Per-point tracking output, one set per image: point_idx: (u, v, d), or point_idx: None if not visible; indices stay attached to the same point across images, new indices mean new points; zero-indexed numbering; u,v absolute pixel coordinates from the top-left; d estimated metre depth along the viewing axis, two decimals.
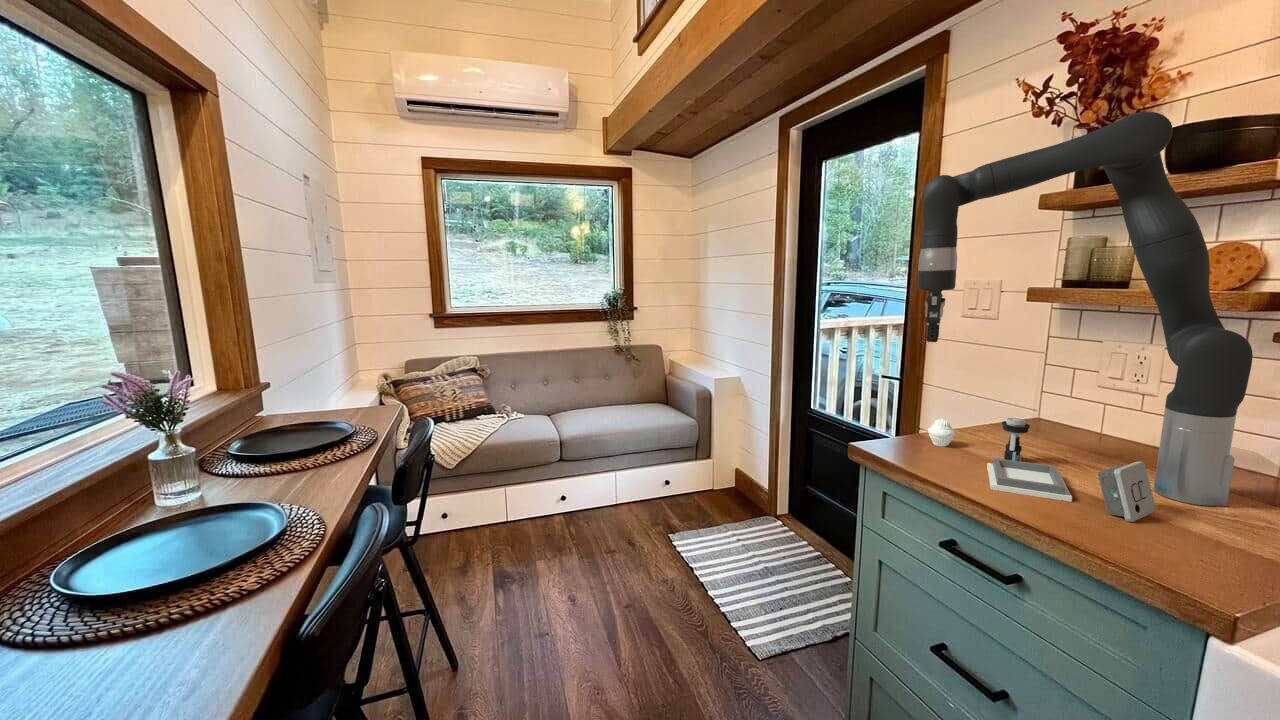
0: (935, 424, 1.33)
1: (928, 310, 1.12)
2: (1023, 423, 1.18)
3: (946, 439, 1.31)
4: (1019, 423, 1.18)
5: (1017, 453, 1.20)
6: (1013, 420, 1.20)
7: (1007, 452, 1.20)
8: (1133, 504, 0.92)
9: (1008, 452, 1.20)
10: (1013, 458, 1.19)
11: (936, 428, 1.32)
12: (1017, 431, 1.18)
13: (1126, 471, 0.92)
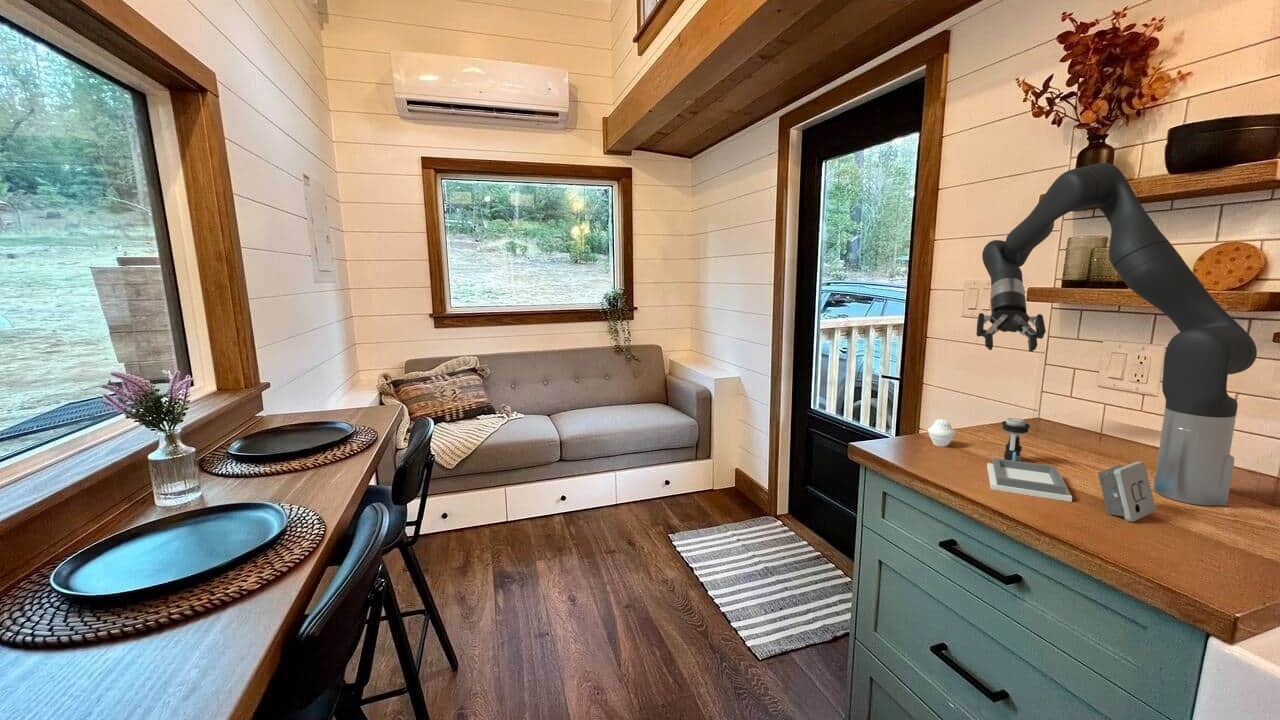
0: (935, 424, 1.33)
1: None
2: (1023, 423, 1.18)
3: (946, 439, 1.31)
4: (1019, 423, 1.18)
5: (1017, 453, 1.20)
6: (1013, 420, 1.20)
7: (1007, 452, 1.20)
8: (1133, 504, 0.92)
9: (1008, 452, 1.20)
10: (1013, 458, 1.19)
11: (936, 428, 1.32)
12: (1017, 431, 1.18)
13: (1126, 471, 0.92)
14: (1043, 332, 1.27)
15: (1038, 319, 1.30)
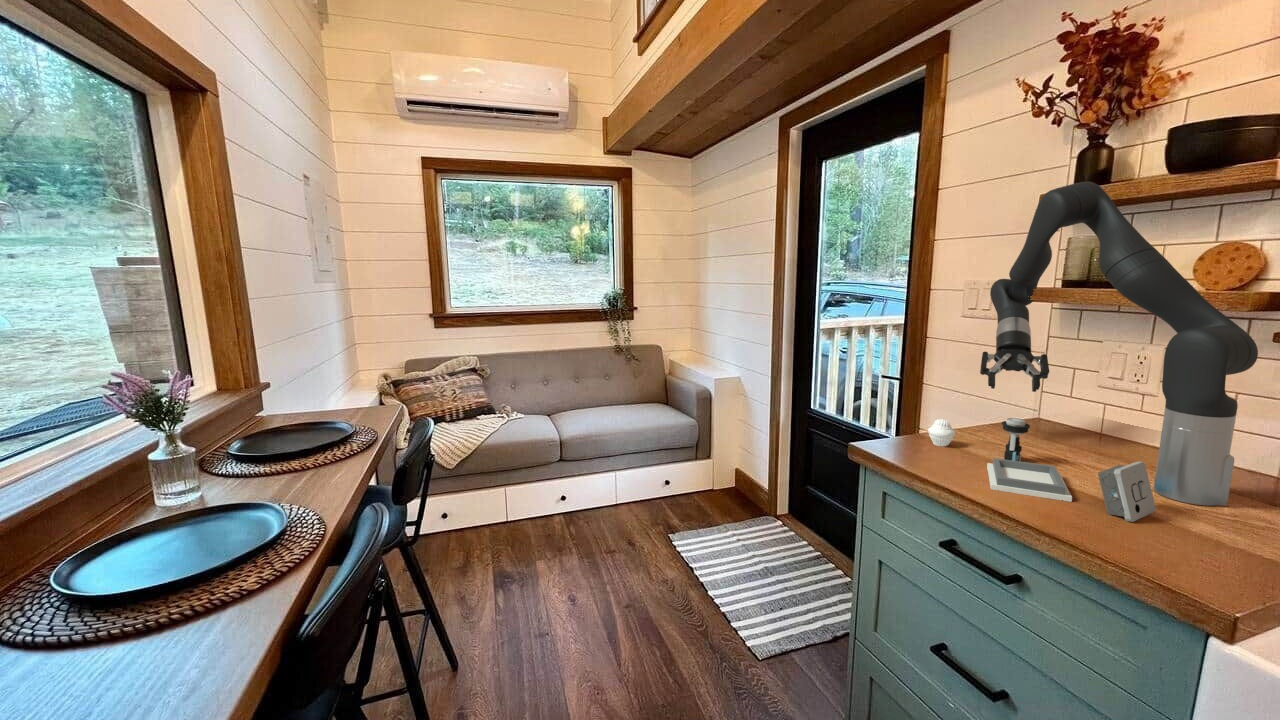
0: (935, 424, 1.33)
1: None
2: (1023, 423, 1.18)
3: (946, 439, 1.31)
4: (1019, 423, 1.18)
5: (1017, 453, 1.20)
6: (1013, 420, 1.20)
7: (1007, 452, 1.20)
8: (1133, 504, 0.92)
9: (1008, 452, 1.20)
10: (1013, 458, 1.19)
11: (936, 428, 1.32)
12: (1017, 431, 1.18)
13: (1126, 471, 0.92)
14: (1046, 372, 1.28)
15: (1042, 359, 1.30)
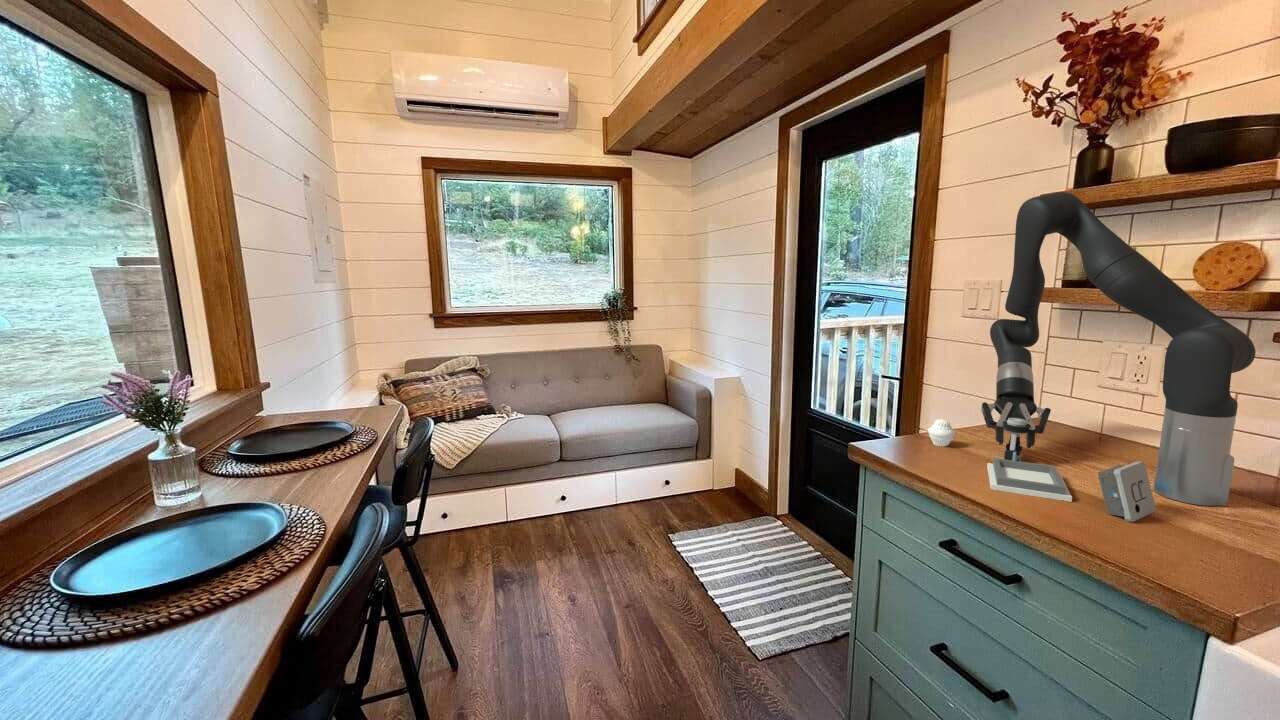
0: (935, 424, 1.33)
1: (984, 418, 1.27)
2: (1024, 423, 1.18)
3: (946, 439, 1.31)
4: (1020, 423, 1.18)
5: (1017, 453, 1.20)
6: (1014, 420, 1.20)
7: (1007, 452, 1.20)
8: (1133, 504, 0.92)
9: (1008, 452, 1.20)
10: (1013, 458, 1.19)
11: (936, 428, 1.32)
12: (1018, 431, 1.18)
13: (1126, 471, 0.92)
14: (1042, 427, 1.19)
15: (1044, 413, 1.20)
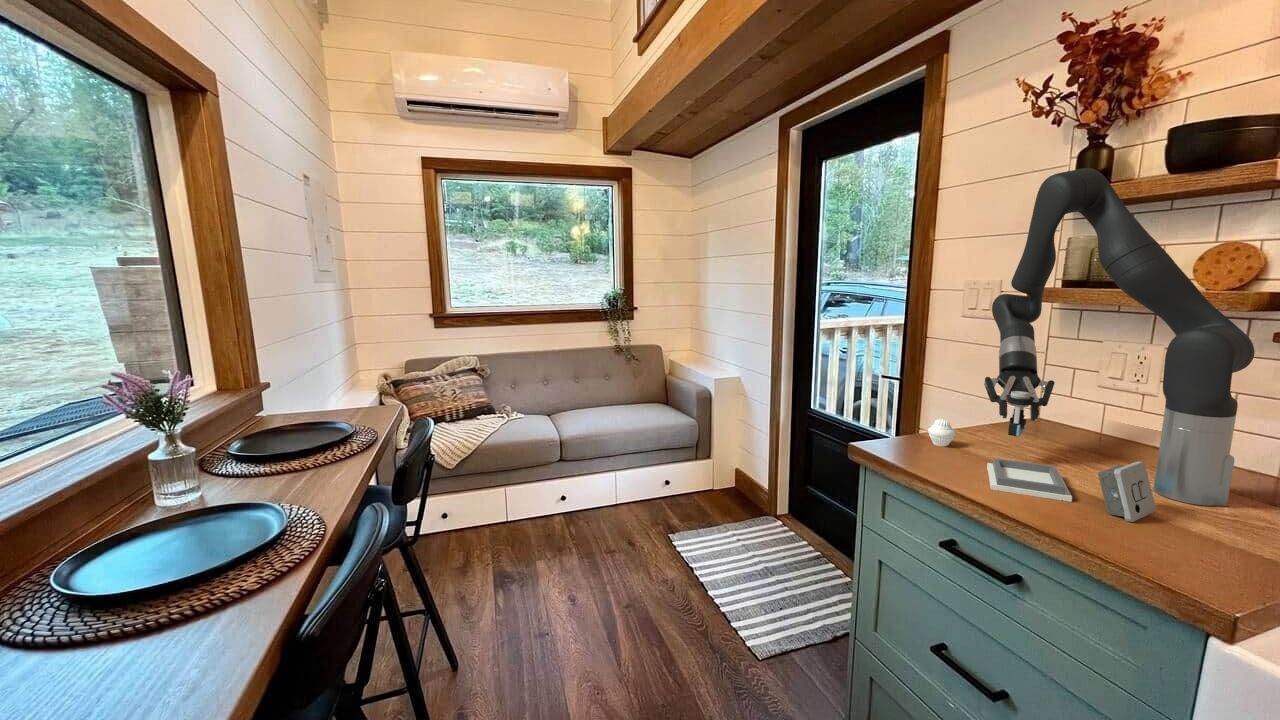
0: (935, 424, 1.33)
1: (987, 392, 1.26)
2: (1028, 395, 1.17)
3: (946, 439, 1.31)
4: (1024, 395, 1.17)
5: (1021, 426, 1.18)
6: (1017, 393, 1.18)
7: (1011, 425, 1.19)
8: (1133, 504, 0.92)
9: (1012, 425, 1.19)
10: (1017, 431, 1.18)
11: (936, 428, 1.32)
12: (1021, 403, 1.17)
13: (1126, 471, 0.92)
14: (1046, 400, 1.18)
15: (1047, 385, 1.19)
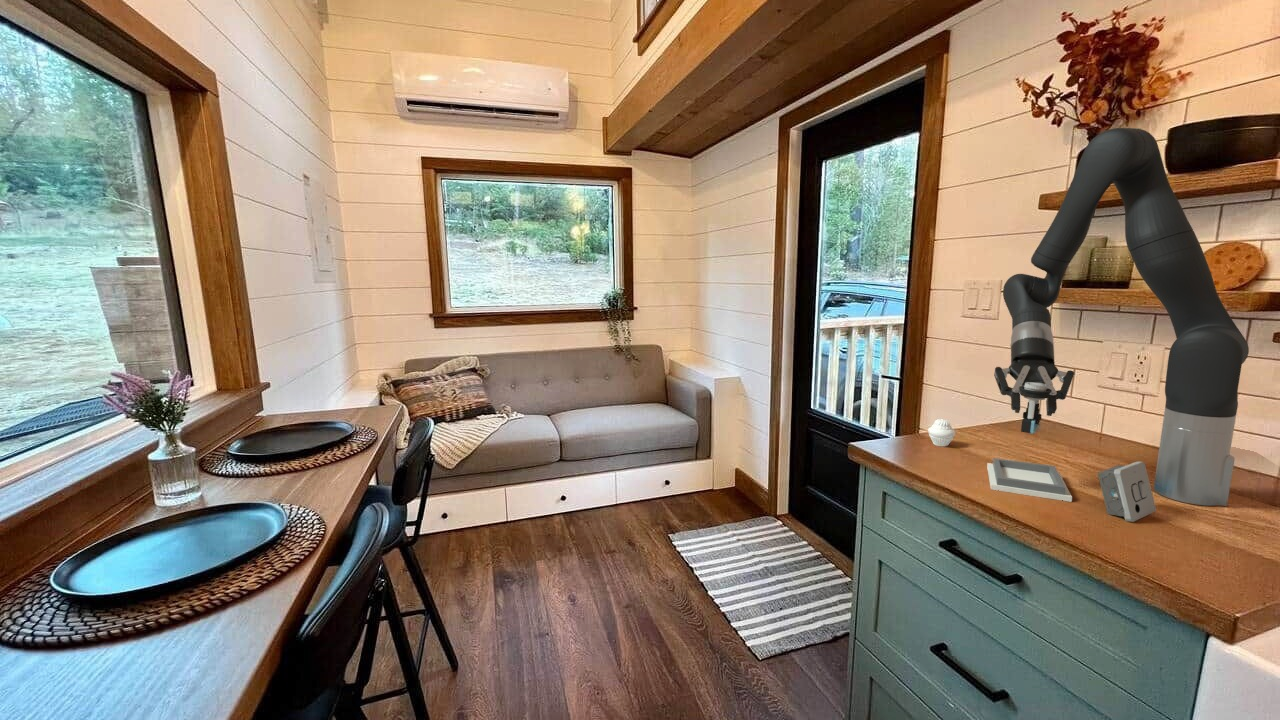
0: (935, 424, 1.33)
1: None
2: (1044, 387, 1.04)
3: (946, 439, 1.31)
4: (1039, 387, 1.04)
5: (1036, 422, 1.05)
6: (1032, 384, 1.05)
7: (1025, 421, 1.06)
8: (1133, 504, 0.92)
9: (1026, 421, 1.06)
10: (1032, 427, 1.05)
11: (936, 428, 1.32)
12: (1037, 396, 1.04)
13: (1126, 471, 0.92)
14: (1064, 392, 1.04)
15: (1066, 376, 1.06)
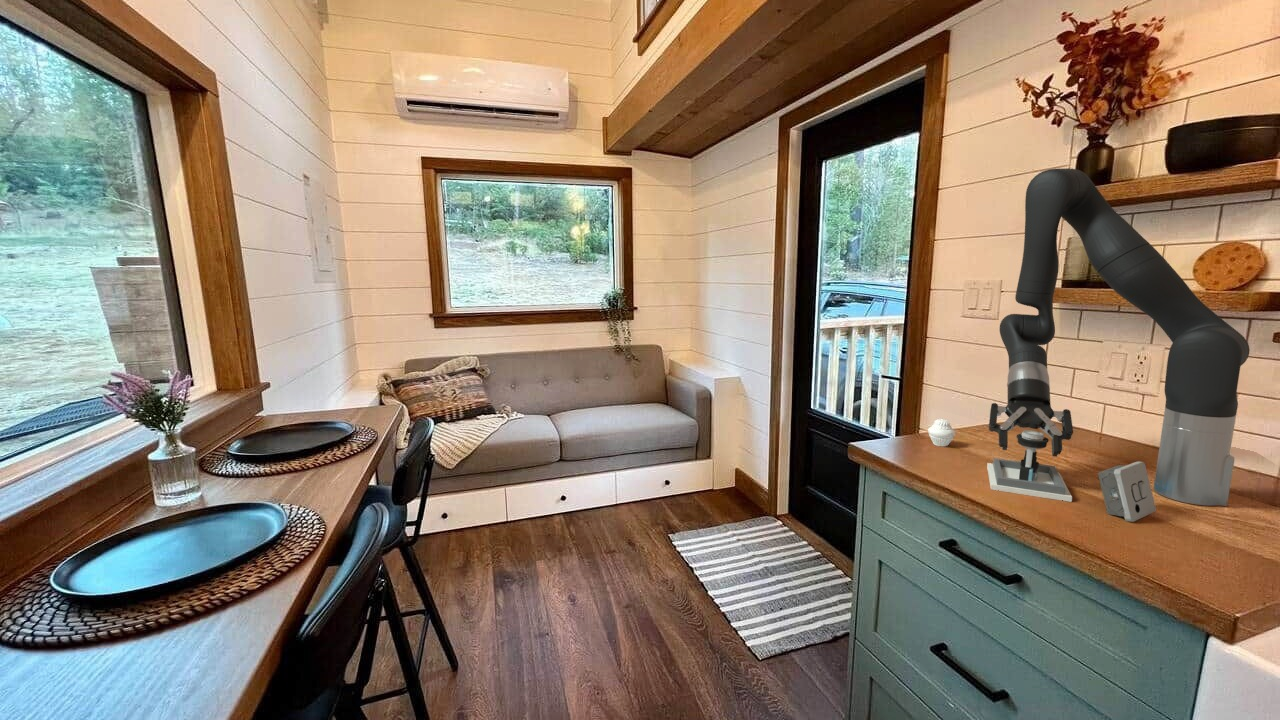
0: (935, 424, 1.33)
1: None
2: (1041, 437, 1.06)
3: (946, 439, 1.31)
4: (1037, 437, 1.06)
5: (1034, 470, 1.07)
6: (1030, 433, 1.07)
7: (1023, 469, 1.07)
8: (1133, 504, 0.92)
9: (1024, 469, 1.07)
10: (1029, 476, 1.07)
11: (935, 428, 1.32)
12: (1034, 446, 1.05)
13: (1126, 471, 0.92)
14: (1070, 433, 1.05)
15: (1064, 415, 1.07)
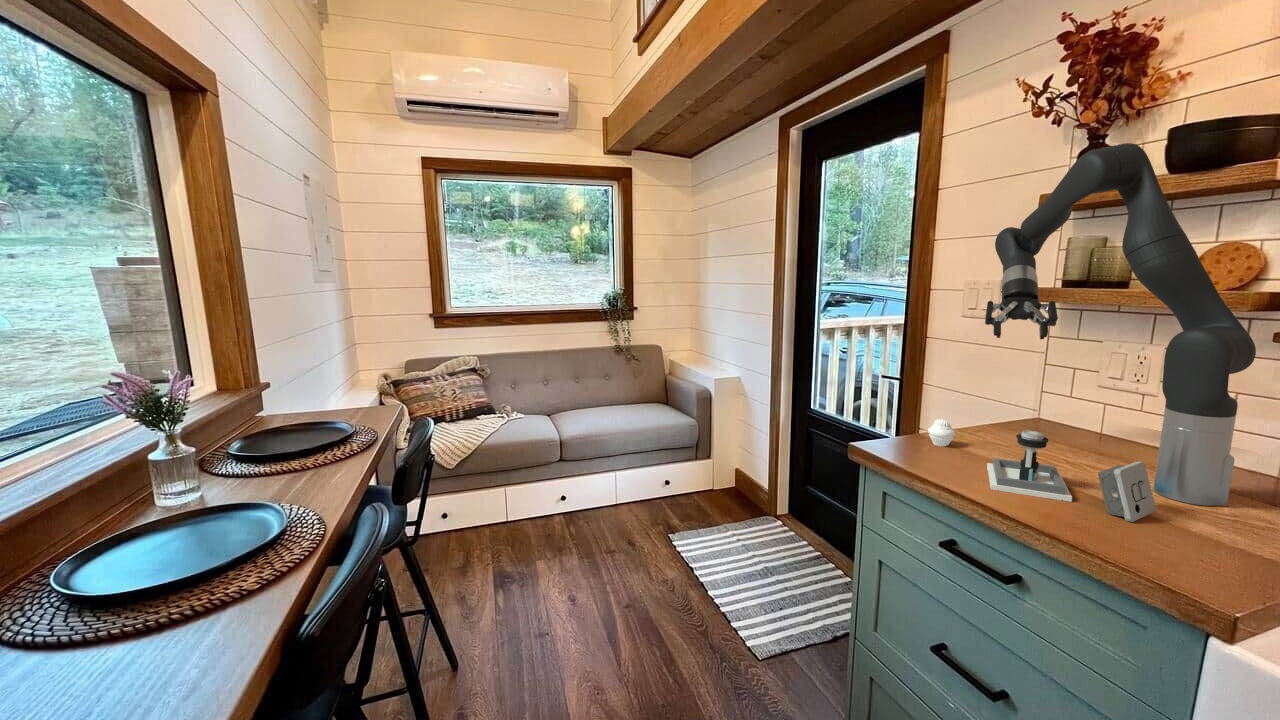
0: (935, 424, 1.33)
1: None
2: (1041, 437, 1.06)
3: (946, 439, 1.31)
4: (1036, 437, 1.06)
5: (1034, 470, 1.07)
6: (1029, 433, 1.07)
7: (1023, 469, 1.07)
8: (1133, 504, 0.92)
9: (1024, 469, 1.07)
10: (1029, 476, 1.07)
11: (935, 428, 1.32)
12: (1034, 446, 1.05)
13: (1126, 471, 0.92)
14: (1055, 319, 1.22)
15: (1050, 306, 1.24)
